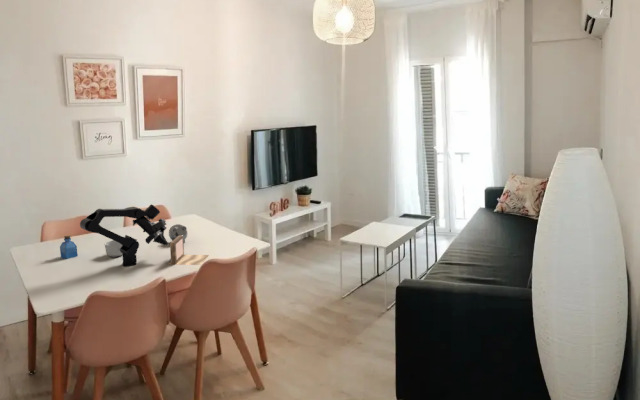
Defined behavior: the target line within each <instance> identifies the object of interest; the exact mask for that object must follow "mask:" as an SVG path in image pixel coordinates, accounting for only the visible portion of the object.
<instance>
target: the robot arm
mask: <svg viewBox="0 0 640 400" xmlns="http://www.w3.org/2000/svg"><path fill="white" fill-rule="evenodd" d="M160 214H161V211H160V209H158V208H157V207H156V206H154V204H150V205H149V206H148V207H147V208H146V209H145V210H144V209H142V208H139V207H136V206H130V207H129V206H128V207H125V208H97V209H96V210H94V212H92V213H91V214H89V215H87V216H86V217H85V218H83V219H81V221H80V223H79V226H80V228H81V229H82V230H85V231H87V232H90V233H94V234H99V235H101V236H103V237H105V238H108V239H110V240H111V241H113V240H114V241H116V242H118V243H120V244H121V245H122V247H121V248H120V251H121V253H122V255H121V256H122V267H129V266H137V263H138V260H137V252H138V249H139V247H140V243H139V241H138V239H136V238H134V237H132V236H130V235H127V234H125V236H122V235H120V234H118V233H115V232H113V231H111V230H109V229H107V228H104V227H102V226H101V225H100V224H101V222H102V220H103V219H104V218H109V217H110V218H111V217H112V218H118V217H120V218H121V217H126V218H131V219H132V226H133V227H134V226H135V225H138V226H139V228H141V229H142V232H143V233H147V235H148V236H147V237H146V238H145V239H144V240H145V243H146V244H150V243H151V242H153V243H157V244H161V245H163V246H166V247H167V246H168V245H169V242H168V240H167V239H166V237H165V235H164V234H165V231H166V230H167V227H166V226H167V223H166V220H165V219H164V218H159V219H158V222H154V221H153V220H154V219H155V218H156V217H157V216H158V215H160ZM150 220H152V221H153V222H151V221H150Z"/></svg>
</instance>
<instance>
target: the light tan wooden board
mask: <svg viewBox="0 0 640 400" xmlns="http://www.w3.org/2000/svg"><path fill="white" fill-rule="evenodd" d="M208 257H210V255H209V254H184V257H183V258H182V259H181V260H180V261H179V262H178V263H177V264H173V265H176V266H177V265H183V266H186V265H187V266H188V265H189V266H190V265H192V266H200V265H203V263H204V262H205V260H206V259H207V258H208ZM168 265H172V264H171V261H170V262H169V263H168Z"/></svg>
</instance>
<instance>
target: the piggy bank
mask: <svg viewBox="0 0 640 400" xmlns="http://www.w3.org/2000/svg"><path fill="white" fill-rule="evenodd" d="M187 229H188V228H187V227H186V226H185V225H182V224H181V223H180V224H179V223H178V224H177V223H176V224H173V225H172V226H170V228H169V229H168V236H169V238H170V240H171V242H172V241H173V240H174V239H175V238H176V237H178V236H179V235H182V236H183V243H184V244H185V243H186V239H187V237H188V230H187Z"/></svg>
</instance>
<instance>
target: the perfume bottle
mask: <svg viewBox="0 0 640 400" xmlns="http://www.w3.org/2000/svg"><path fill="white" fill-rule="evenodd" d="M77 246H78V245H77V244H76V243H75V242H74V241H72V237H71V235H65V236H64V237H63V242H61V243H60V246H59V253H60V258H62V259H66V260H70V259H73V258H77V257H78V255H79V254H78V247H77Z"/></svg>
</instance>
